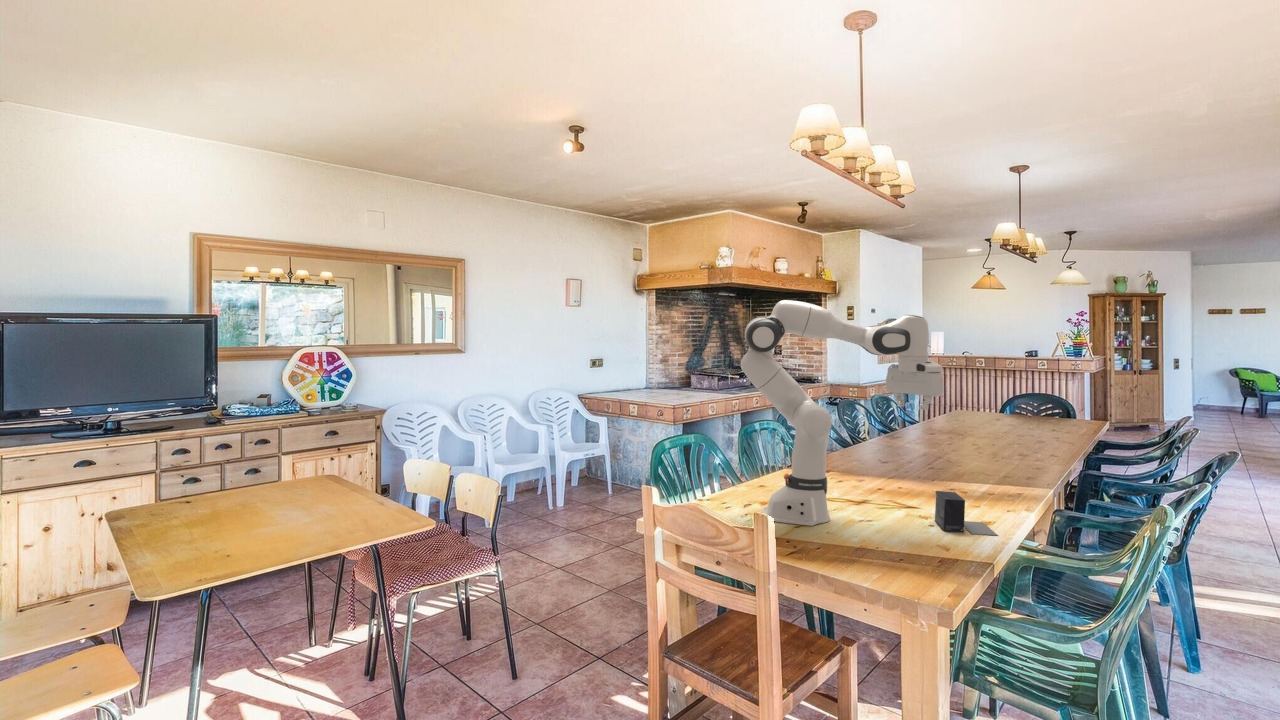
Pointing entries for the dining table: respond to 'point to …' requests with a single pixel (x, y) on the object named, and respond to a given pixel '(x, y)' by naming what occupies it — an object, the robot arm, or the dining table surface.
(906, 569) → the dining table surface
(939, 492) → the small box
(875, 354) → the robot arm
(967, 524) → the mat
